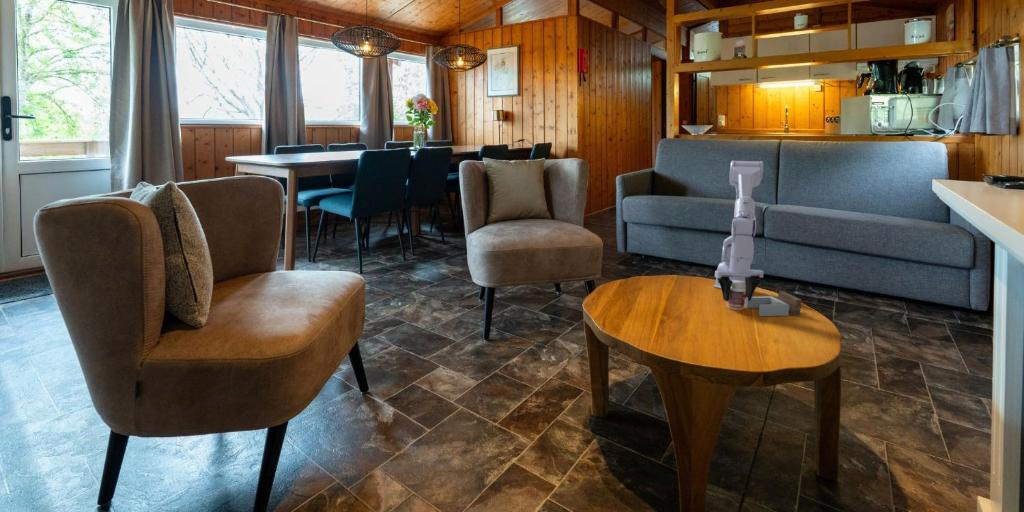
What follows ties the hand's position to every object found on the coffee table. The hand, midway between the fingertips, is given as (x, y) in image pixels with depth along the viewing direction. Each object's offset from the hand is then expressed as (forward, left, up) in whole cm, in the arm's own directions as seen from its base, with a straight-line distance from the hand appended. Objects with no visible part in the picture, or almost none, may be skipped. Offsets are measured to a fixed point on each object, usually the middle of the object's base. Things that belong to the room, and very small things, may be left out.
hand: (736, 300), depth 164 cm
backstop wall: (+10, +11, -3) cm, 15 cm away
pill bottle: (0, 0, -3) cm, 3 cm away
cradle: (+7, +5, -3) cm, 9 cm away
